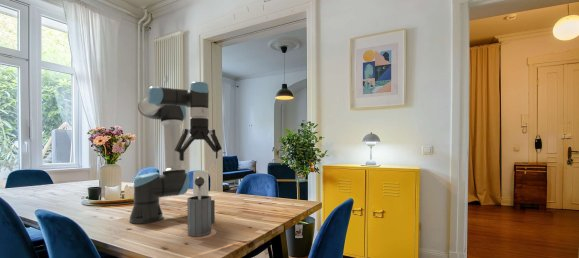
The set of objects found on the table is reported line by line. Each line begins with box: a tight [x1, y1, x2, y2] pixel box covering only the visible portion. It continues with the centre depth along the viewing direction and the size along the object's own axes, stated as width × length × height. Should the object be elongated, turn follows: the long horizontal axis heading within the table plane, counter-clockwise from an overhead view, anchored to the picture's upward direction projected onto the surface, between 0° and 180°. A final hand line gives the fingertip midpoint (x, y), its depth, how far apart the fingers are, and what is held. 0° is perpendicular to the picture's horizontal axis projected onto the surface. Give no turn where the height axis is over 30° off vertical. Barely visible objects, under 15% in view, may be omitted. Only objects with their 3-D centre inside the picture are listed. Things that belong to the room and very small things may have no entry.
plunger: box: [195, 177, 204, 200], centre depth 121 cm, size 6×6×19 cm
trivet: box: [181, 228, 218, 240], centre depth 120 cm, size 14×14×1 cm
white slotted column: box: [192, 170, 209, 197], centre depth 139 cm, size 7×7×25 cm
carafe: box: [186, 195, 216, 237], centre depth 121 cm, size 10×12×15 cm
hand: (199, 167), depth 122 cm, fingers open, 13 cm apart
